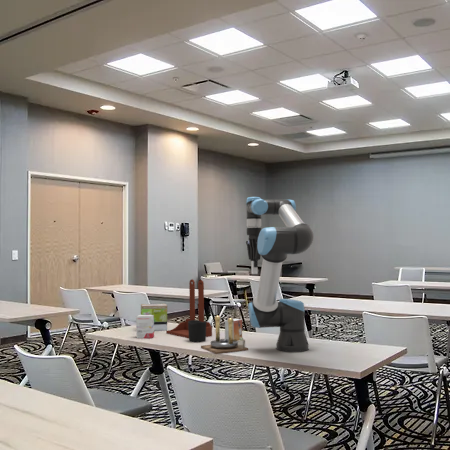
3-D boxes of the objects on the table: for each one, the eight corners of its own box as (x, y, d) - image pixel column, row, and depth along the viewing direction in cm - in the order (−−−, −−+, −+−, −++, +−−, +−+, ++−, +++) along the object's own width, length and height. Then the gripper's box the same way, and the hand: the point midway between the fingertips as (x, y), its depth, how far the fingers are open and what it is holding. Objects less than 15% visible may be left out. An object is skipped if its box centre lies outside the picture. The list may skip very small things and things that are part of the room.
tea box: (141, 331, 308) (141, 305, 308) (140, 329, 317) (140, 303, 318) (167, 330, 311) (167, 304, 311) (166, 327, 320) (165, 302, 321)
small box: (233, 342, 273) (233, 321, 274) (224, 340, 277) (224, 320, 277) (242, 339, 280) (242, 319, 280) (233, 338, 283) (233, 318, 283)
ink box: (154, 336, 290) (154, 314, 290) (151, 338, 285) (151, 316, 286) (139, 336, 292) (139, 314, 292) (135, 338, 287) (135, 315, 287)
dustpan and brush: (166, 333, 301) (166, 279, 302) (185, 331, 309) (184, 278, 310) (192, 339, 282) (192, 282, 283) (212, 336, 291) (211, 280, 292)
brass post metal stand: (244, 346, 254) (244, 316, 255) (221, 349, 246) (221, 319, 247) (227, 342, 265) (227, 313, 265) (205, 345, 257) (205, 316, 258)
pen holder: (204, 338, 283) (204, 319, 283) (208, 342, 274) (207, 322, 274) (186, 339, 281) (186, 320, 281) (189, 343, 272) (189, 323, 272)
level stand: (248, 350, 252) (248, 337, 252) (216, 354, 244) (216, 341, 244) (231, 344, 267) (231, 332, 267) (200, 347, 259) (200, 335, 259)
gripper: (267, 227, 270) (267, 274, 270) (253, 227, 282) (254, 272, 281) (254, 227, 267) (254, 274, 266) (241, 227, 278) (241, 273, 278)
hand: (254, 273), depth 274 cm, fingers closed
